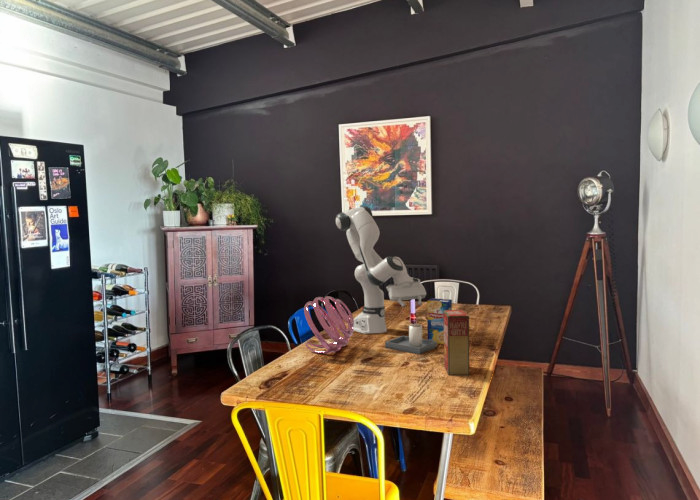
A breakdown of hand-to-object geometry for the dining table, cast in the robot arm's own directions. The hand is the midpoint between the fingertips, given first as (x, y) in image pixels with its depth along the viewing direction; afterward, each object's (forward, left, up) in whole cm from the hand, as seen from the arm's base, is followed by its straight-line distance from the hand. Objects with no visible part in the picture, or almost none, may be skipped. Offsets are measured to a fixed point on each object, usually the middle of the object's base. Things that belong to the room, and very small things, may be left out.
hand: (412, 305), depth 266 cm
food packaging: (+40, -28, -20) cm, 53 cm away
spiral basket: (-24, -38, -20) cm, 49 cm away
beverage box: (+11, +9, -20) cm, 24 cm away
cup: (+9, -11, -18) cm, 23 cm away
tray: (+5, -9, -19) cm, 22 cm away
